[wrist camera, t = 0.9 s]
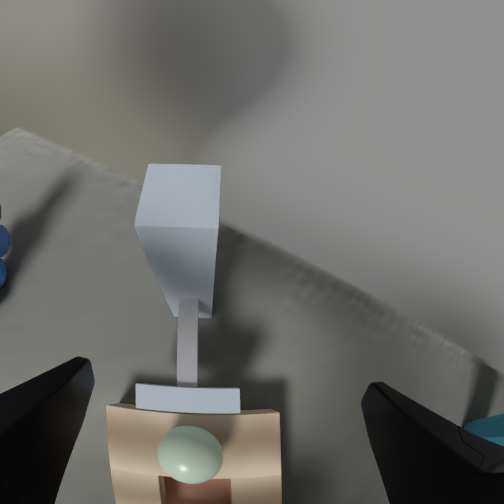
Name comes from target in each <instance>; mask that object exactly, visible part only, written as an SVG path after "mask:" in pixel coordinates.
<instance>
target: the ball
mask: <svg viewBox="0 0 504 504" xmlns="http://www.w3.org/2000/svg"><path fill="white" fill-rule="evenodd" d="M157 456H158V460H159V463H160V465H161V467H162V468H163V470H164V471H165V472H166V473H167V474H168V475H169V476H170V477H172V478H174V479H175V480H177V481H180V482H183V483H187V484H199V483H203V482H206V481H208V480H210V479H212V478H213V477H215V476H216V475H217V474H218V472H219V471H220V469H221V467H222V465H223V459H224V455H223V450H222V447H221V445H220V443H219V441H218V440H217V439H216V438H215V437H214V436H213V435H212V434H211V433H210V432H208V431H206V430H204V429H202V428H199V427H196V426H179V427H176V428H173V429H171V430H170V431H168V432H167V433H166V434H165V435H164V436H163V437H162V438H161V440H160V442H159V444H158V448H157Z"/></svg>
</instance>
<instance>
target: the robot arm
mask: <svg viewBox="0 0 504 504" xmlns="http://www.w3.org/2000/svg"><path fill="white" fill-rule="evenodd" d="M93 387H94V375H93V370H92V366H91V362H90V360H89V359H87V358H83V357H79V356H78V357H75V358H73V359H71V360H69V361H67V362H65V363H63V364H61V365H59V366H57V367H55V368H53V369H51V370H49V371H47V372H45V373H43V374H41V375H39V376H37V377H34V378H32V379H30V380H28V381H26V382H24V383H22V384H20V385H18V386H16V387H14V388H12V389H9V390H7V391H5V392H3V393H1V394H0V504H55V500H56V497H57V494H58V490H59V487H60V484H61V481H62V478H63V475H64V472H65V469H66V466H67V464H68V461H69V458H70V455H71V453H72V450H73V447H74V445H75V442H76V439H77V437H78V434H79V432H80V429H81V427H82V424H83V421H84V418H85V414H86V411H87V407H88V404H89V400H90V397H91V394H92V390H93ZM361 407H362V411H363V415H364V420H365V424H366V428H367V433H368V437H369V441H370V444H371V447H372V450H373V453H374V456H375V459H376V462H377V465H378V468H379V471H380V474H381V477H382V480H383V483H384V487H385V490H386V493H387V496H388V499H389V503H390V504H504V446H502V445H499V444H497V443H494V442H492V441H489V440H487V439H484V438H482V437H480V436H477V435H475V434H473V433H471V432H469V431H467V430H465V429H463V428H462V427H460V426H457V425H456V424H454V423H452V422H450V421H449V420H447V419H445V418H443V417H441V416H440V415H438V414H436V413H434V412H433V411H431V410H429V409H427V408H426V407H424V406H422V405H420V404H419V403H417V402H415V401H413V400H412V399H410V398H408V397H407V396H405V395H403V394H402V393H400V392H398V391H396V390H395V389H393V388H391V387H390V386H388V385H386V384H385V383H383V382H373V383H371V384H370V385H369V386H368V388H367V390H366V392H365V394H364V396H363V398H362V401H361Z"/></svg>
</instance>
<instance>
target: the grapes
mask: <svg viewBox="0 0 504 504" xmlns="http://www.w3.org/2000/svg"><path fill="white" fill-rule="evenodd" d="M0 219H1V205H0ZM9 245H10V240H9V233H8V231H7V229H6V228H5V227H4V226H3V225H0V257H2V256H4V255H5V254H6V253H7V251H8V249H9ZM6 277H7V271H6V265H5V263H4V261H3V260H2V259H1V258H0V287H1V286H2V285H3V284H4V283H5V281H6Z"/></svg>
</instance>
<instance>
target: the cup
mask: <svg viewBox="0 0 504 504" xmlns="http://www.w3.org/2000/svg"><path fill="white" fill-rule="evenodd" d="M463 429H465V430H467V431H469V432H471V433H473V434H475V435H477V436H480V437H482V438H484V439H487V440H489V441H492V442H494V443H497V444H499V445H502V446H504V414H500V415H495V416H491V417H486V418H481V419H475V420H473V421H471V422H468V423H466V424H465V426H464V428H463Z"/></svg>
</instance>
